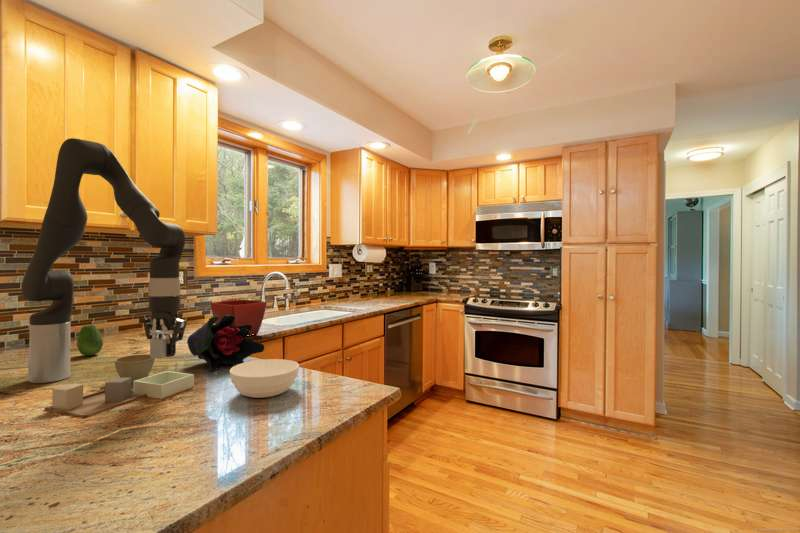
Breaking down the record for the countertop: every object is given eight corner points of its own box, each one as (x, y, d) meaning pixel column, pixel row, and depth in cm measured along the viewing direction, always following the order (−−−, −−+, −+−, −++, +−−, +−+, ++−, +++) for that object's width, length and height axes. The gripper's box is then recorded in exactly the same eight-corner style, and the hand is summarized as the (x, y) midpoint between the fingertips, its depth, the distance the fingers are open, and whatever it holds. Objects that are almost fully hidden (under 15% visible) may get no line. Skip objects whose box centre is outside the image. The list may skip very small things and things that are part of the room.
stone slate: (150, 357, 103) (150, 339, 103) (163, 354, 106) (163, 336, 106) (161, 358, 101) (161, 340, 101) (174, 355, 105) (174, 337, 105)
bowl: (312, 388, 110) (312, 363, 110) (265, 409, 93) (265, 380, 93) (264, 379, 117) (265, 356, 117) (214, 398, 101) (214, 371, 101)
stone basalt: (104, 402, 95) (105, 382, 95) (115, 396, 99) (115, 377, 99) (121, 401, 96) (121, 382, 96) (131, 396, 100) (131, 377, 100)
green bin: (133, 395, 101) (133, 381, 101) (166, 384, 111) (166, 370, 111) (161, 400, 98) (161, 385, 98) (193, 388, 108) (193, 374, 108)
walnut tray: (44, 411, 90) (44, 407, 90) (113, 390, 105) (113, 387, 105) (85, 419, 86) (85, 415, 86) (150, 396, 101) (150, 392, 101)
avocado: (73, 356, 143) (73, 324, 143) (99, 352, 149) (99, 322, 149) (80, 359, 138) (80, 326, 138) (106, 355, 145) (106, 324, 145)
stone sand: (52, 409, 90) (52, 388, 90) (69, 403, 94) (69, 383, 94) (66, 410, 89) (66, 389, 89) (83, 404, 93) (83, 384, 93)
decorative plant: (228, 382, 142) (276, 375, 126) (156, 368, 125) (202, 357, 108) (241, 330, 152) (288, 316, 136) (176, 310, 134) (221, 291, 118)
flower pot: (133, 388, 108) (134, 363, 108) (105, 385, 110) (105, 360, 110) (162, 377, 117) (162, 355, 117) (135, 375, 119) (136, 353, 119)
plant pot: (232, 341, 173) (232, 305, 173) (209, 336, 183) (209, 302, 183) (267, 335, 189) (267, 301, 189) (244, 331, 199) (244, 299, 199)
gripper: (132, 294, 103) (132, 356, 103) (172, 295, 99) (171, 361, 99) (157, 292, 110) (157, 350, 110) (195, 293, 106) (195, 354, 106)
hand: (164, 355), depth 104 cm, fingers closed on stone slate, 4 cm apart
